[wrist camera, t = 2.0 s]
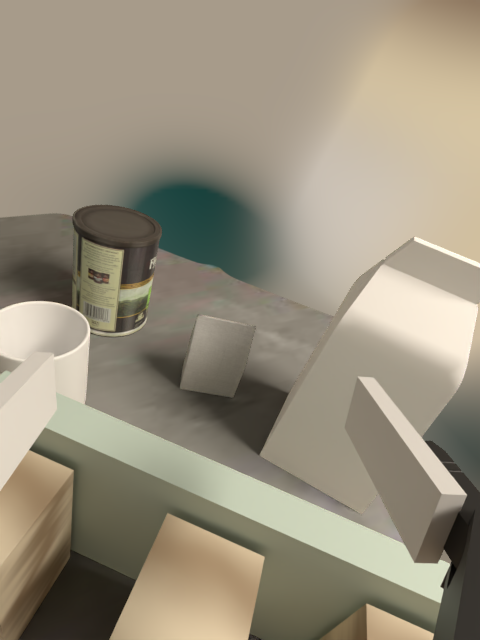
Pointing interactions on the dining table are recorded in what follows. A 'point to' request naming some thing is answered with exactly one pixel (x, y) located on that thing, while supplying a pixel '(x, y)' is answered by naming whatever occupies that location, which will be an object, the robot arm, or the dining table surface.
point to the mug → (47, 342)
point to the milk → (379, 364)
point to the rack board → (231, 527)
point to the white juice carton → (216, 356)
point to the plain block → (192, 588)
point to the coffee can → (113, 267)
